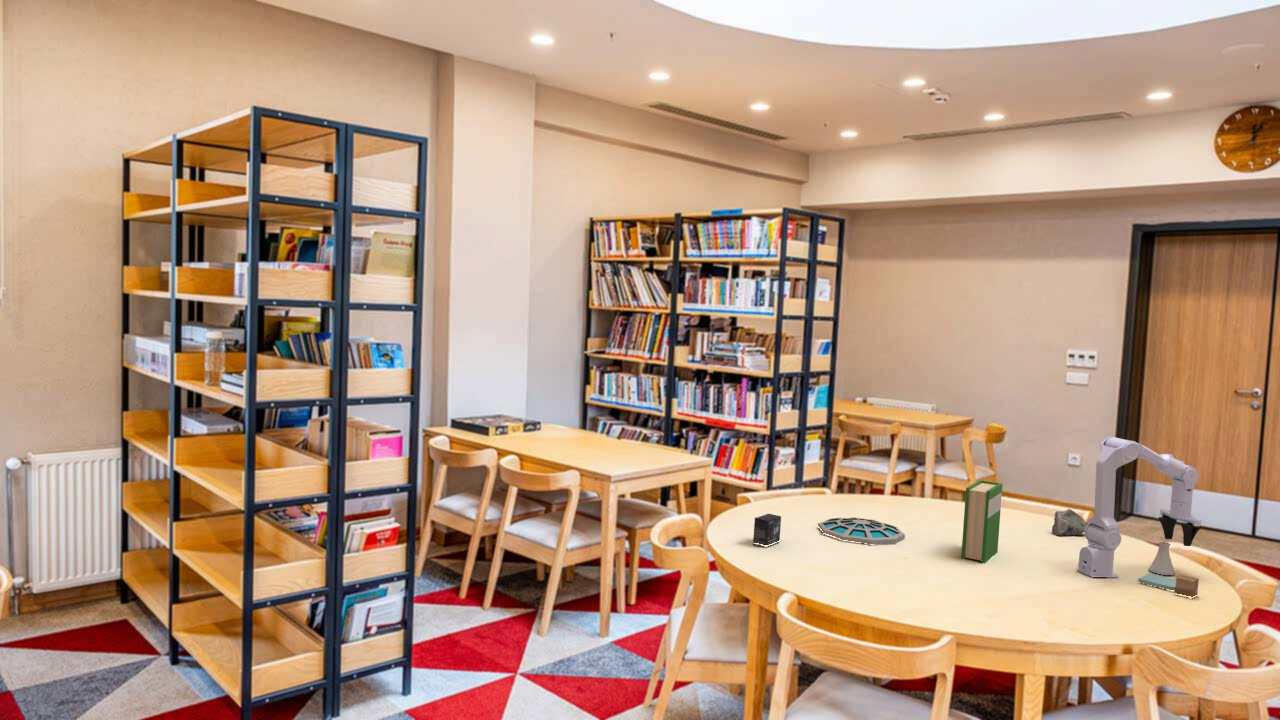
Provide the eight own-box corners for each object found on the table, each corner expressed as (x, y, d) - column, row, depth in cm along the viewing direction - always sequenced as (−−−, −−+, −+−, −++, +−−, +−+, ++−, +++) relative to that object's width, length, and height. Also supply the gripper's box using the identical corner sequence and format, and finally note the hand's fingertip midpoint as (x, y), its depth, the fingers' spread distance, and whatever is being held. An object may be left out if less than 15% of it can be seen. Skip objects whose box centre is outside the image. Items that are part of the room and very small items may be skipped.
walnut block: (1191, 599, 252) (1193, 581, 252) (1174, 595, 256) (1176, 577, 255) (1197, 596, 255) (1198, 578, 255) (1180, 592, 258) (1181, 574, 258)
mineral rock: (1089, 534, 324) (1091, 508, 323) (1090, 541, 314) (1092, 514, 314) (1051, 529, 329) (1053, 504, 329) (1051, 536, 320) (1053, 509, 319)
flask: (1162, 577, 273) (1165, 546, 272) (1143, 570, 280) (1146, 540, 279) (1180, 576, 275) (1182, 545, 274) (1161, 569, 282) (1163, 539, 281)
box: (767, 548, 286) (768, 520, 285) (752, 545, 289) (753, 517, 288) (780, 543, 293) (781, 515, 292) (765, 539, 296) (767, 512, 296)
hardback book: (984, 563, 279) (989, 491, 278) (961, 559, 283) (966, 487, 282) (997, 552, 293) (1002, 483, 292) (975, 548, 298) (979, 480, 296)
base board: (1173, 592, 258) (1174, 587, 258) (1137, 583, 265) (1138, 578, 265) (1185, 586, 264) (1185, 581, 264) (1149, 577, 272) (1150, 572, 272)
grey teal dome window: (913, 548, 295) (914, 534, 294) (828, 544, 295) (829, 530, 295) (889, 525, 325) (890, 512, 325) (812, 522, 326) (813, 509, 326)
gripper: (1210, 506, 271) (1206, 548, 271) (1174, 496, 285) (1170, 536, 286) (1191, 506, 269) (1187, 548, 270) (1155, 496, 283) (1152, 536, 284)
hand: (1177, 542), depth 278 cm, fingers open, 7 cm apart
